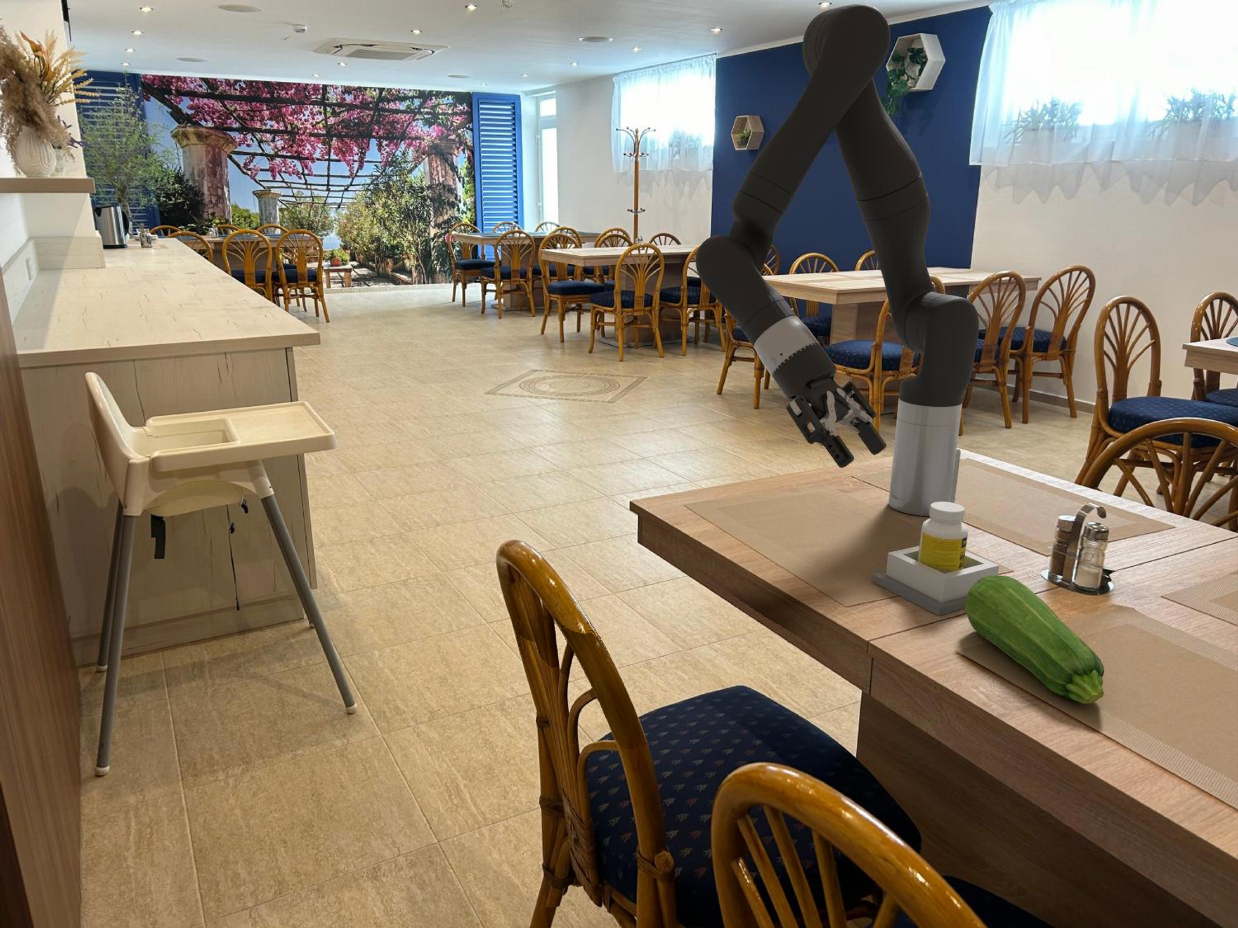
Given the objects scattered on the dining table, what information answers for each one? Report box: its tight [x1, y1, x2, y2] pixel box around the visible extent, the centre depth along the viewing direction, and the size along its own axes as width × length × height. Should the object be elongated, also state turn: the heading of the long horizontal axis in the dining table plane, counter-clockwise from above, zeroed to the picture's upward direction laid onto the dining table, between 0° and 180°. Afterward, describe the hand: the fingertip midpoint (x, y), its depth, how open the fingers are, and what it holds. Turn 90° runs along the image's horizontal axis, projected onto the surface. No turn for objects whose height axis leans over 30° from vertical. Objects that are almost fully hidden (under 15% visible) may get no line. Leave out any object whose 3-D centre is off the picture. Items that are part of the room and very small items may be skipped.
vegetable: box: [964, 575, 1105, 705], centre depth 93 cm, size 7×7×20 cm
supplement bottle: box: [918, 502, 969, 574], centre depth 111 cm, size 5×5×10 cm
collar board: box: [871, 545, 1000, 616], centre depth 112 cm, size 12×11×4 cm
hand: (864, 457), depth 116 cm, fingers open, 8 cm apart
